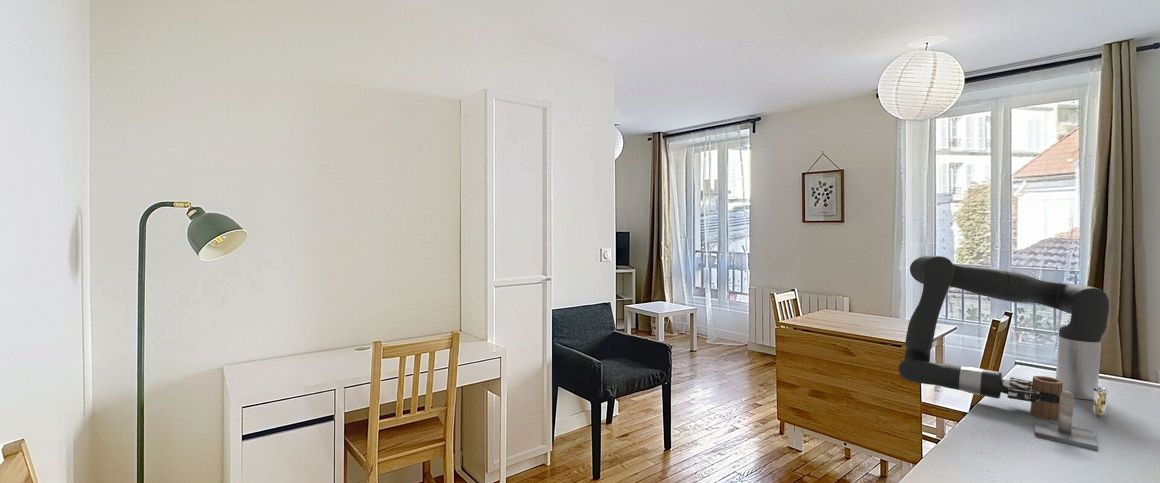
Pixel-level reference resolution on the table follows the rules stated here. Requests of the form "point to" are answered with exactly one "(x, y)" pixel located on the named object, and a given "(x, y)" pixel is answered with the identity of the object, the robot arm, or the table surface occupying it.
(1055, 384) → the wooden slatted cup
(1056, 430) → the grey post stand
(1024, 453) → the table surface
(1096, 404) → the ring
